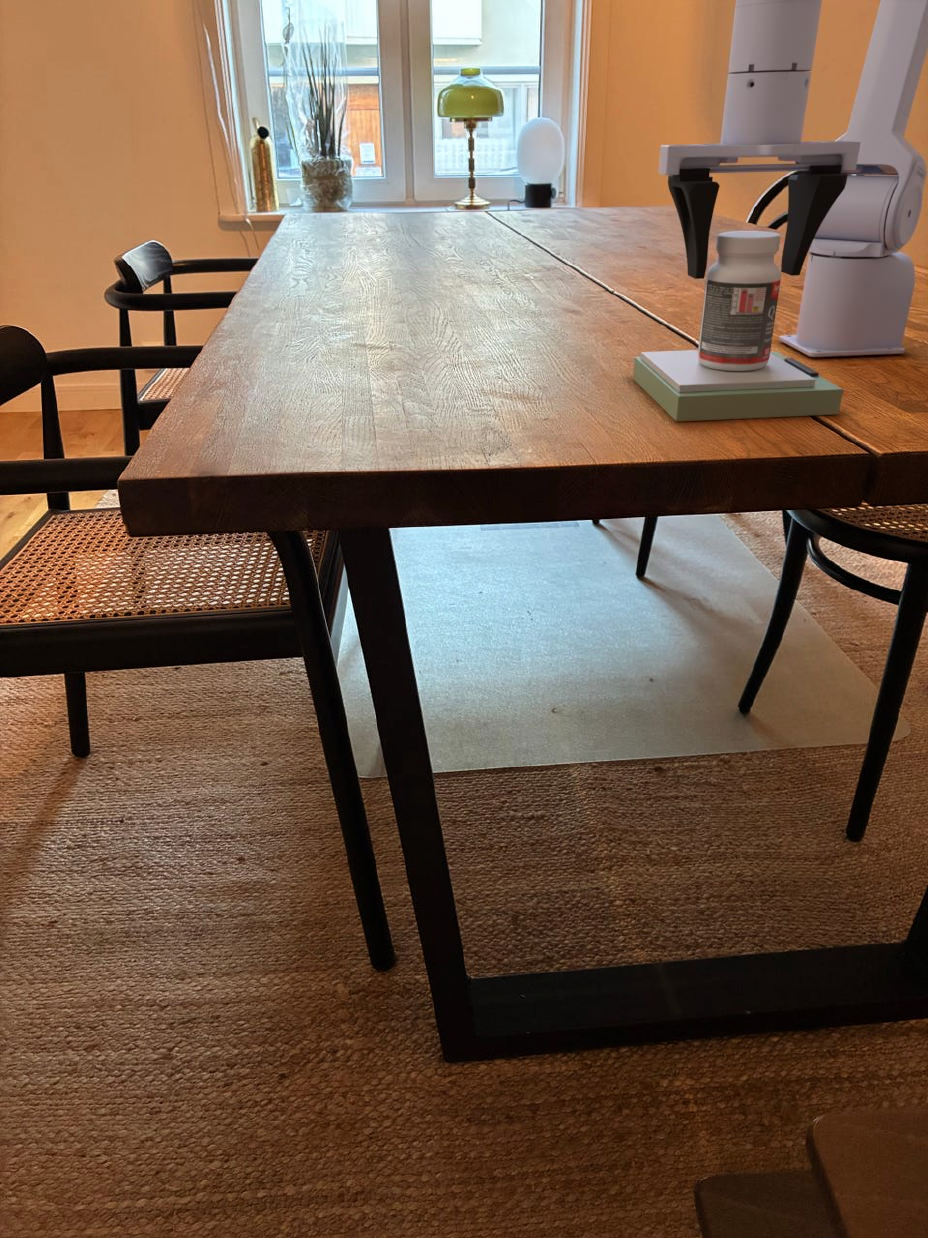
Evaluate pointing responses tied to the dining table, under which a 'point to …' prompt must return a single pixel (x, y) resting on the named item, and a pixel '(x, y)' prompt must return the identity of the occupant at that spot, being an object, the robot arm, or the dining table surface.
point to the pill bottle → (740, 302)
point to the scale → (734, 388)
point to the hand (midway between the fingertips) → (743, 275)
